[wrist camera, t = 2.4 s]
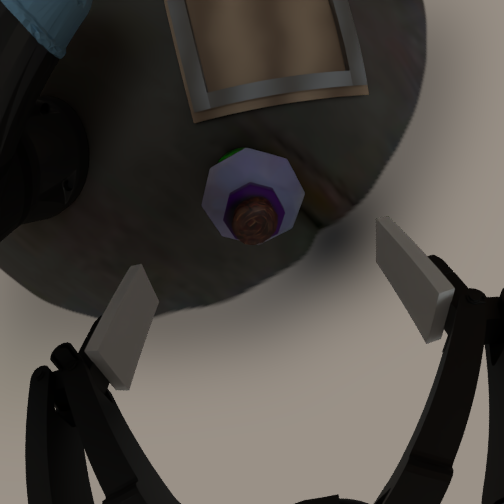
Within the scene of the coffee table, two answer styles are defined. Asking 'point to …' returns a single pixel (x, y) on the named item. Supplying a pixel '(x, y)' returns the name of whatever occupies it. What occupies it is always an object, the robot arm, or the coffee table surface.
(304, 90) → the jig plate
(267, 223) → the potion bottle
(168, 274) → the coffee table surface
